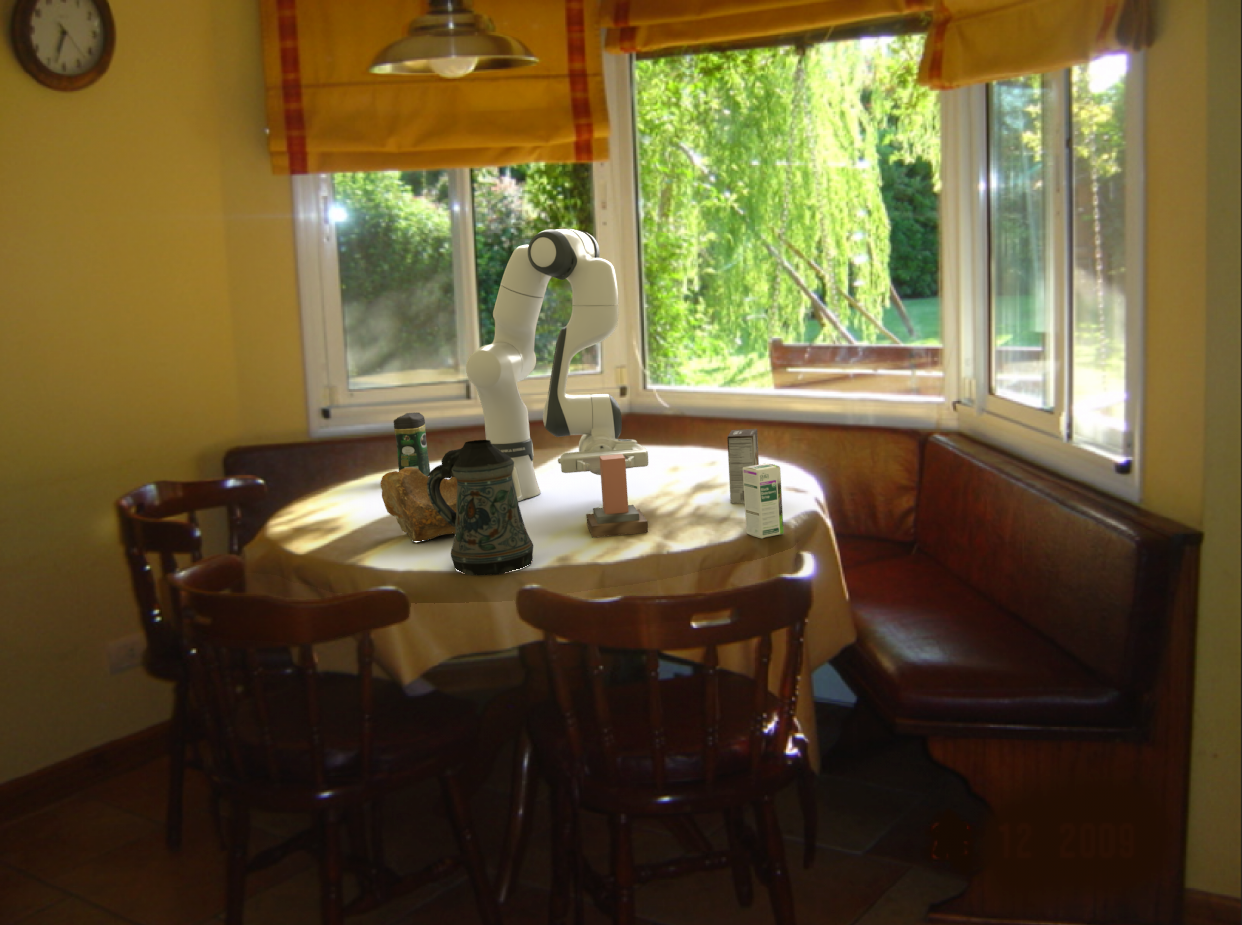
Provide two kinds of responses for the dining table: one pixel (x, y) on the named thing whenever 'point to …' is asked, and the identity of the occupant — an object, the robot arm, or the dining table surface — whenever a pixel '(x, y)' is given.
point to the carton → (614, 484)
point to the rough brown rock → (417, 503)
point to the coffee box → (741, 459)
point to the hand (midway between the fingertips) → (607, 466)
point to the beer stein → (482, 510)
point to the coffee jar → (412, 442)
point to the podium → (616, 522)
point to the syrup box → (763, 500)
